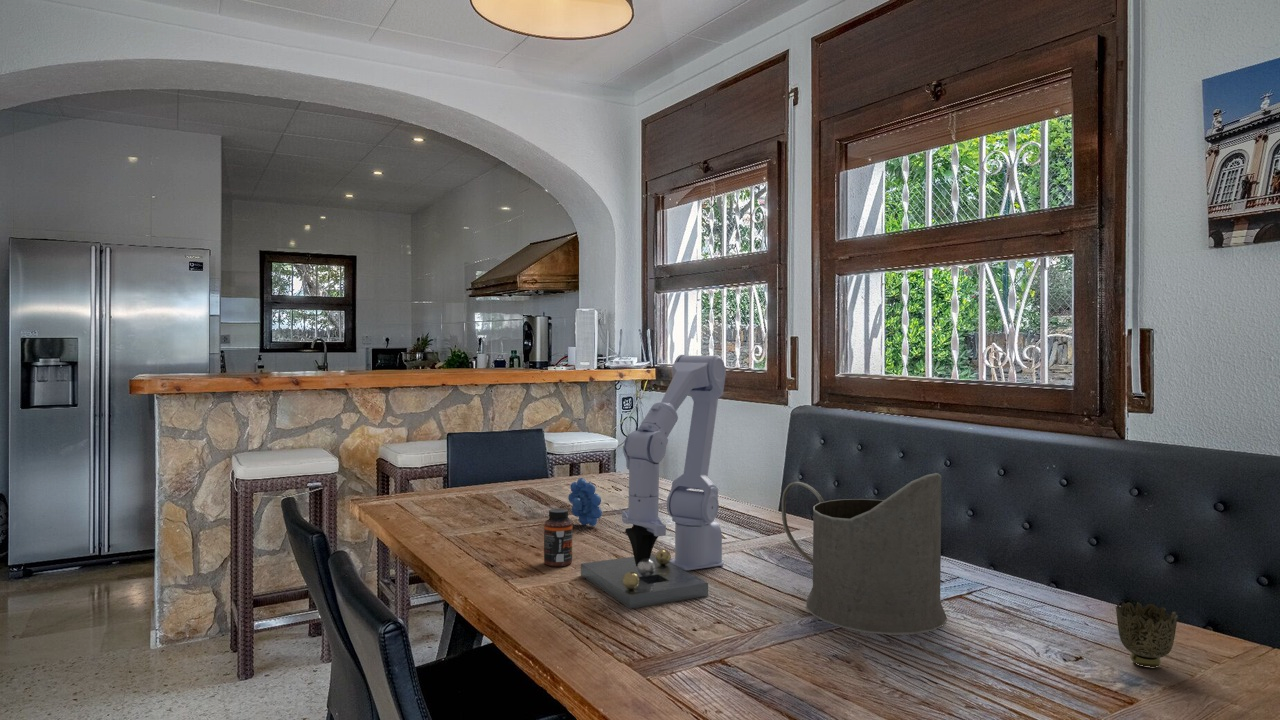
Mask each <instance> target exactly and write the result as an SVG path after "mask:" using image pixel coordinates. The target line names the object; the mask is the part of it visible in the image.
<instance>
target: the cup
mask: <svg viewBox="0 0 1280 720" xmlns="http://www.w3.org/2000/svg"><path fill="white" fill-rule="evenodd" d="M1116 604H1117V605H1115V606H1114V607H1115V612H1116V613H1115V614H1116V621H1117V630H1118V634H1119V636H1118V637H1119V639H1120V642H1121V643H1122V645H1123V647H1124V648H1125V649H1126V650H1127V651H1128V652H1130V657H1129V658H1130V660H1131V662H1132V661H1133V662H1134V663H1137V664H1139V665H1143V666H1150V667H1156V666H1159V665H1160V666H1161V664H1162V661H1161V658H1163V657H1166V656H1167V655H1168V654H1170V652H1171V651H1172V649H1173V646H1174V641H1175V637H1176V629H1177V623H1178V618H1179V615H1178V614H1177V613H1176V611H1172V612H1171V614H1170V613H1167V610H1166V608H1165V607H1164V606H1160V608H1158V607H1157V606H1156V605H1154V604H1153V603H1149V604H1146V605H1145V606H1143V604H1141V603H1140V602H1139V601H1138V602H1136V604H1135V605H1134V604H1133V603H1131V602H1130V601H1128V602H1126V603H1125V601H1123V602H1122V603H1121V605H1119V603H1116ZM1133 662H1132V663H1133ZM1134 663H1133V664H1134ZM1160 666H1159V667H1160Z"/></svg>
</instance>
